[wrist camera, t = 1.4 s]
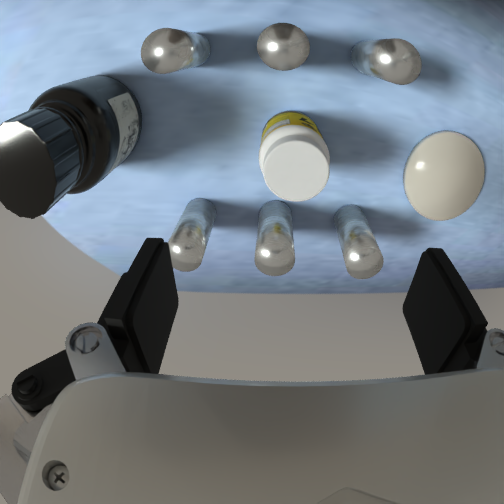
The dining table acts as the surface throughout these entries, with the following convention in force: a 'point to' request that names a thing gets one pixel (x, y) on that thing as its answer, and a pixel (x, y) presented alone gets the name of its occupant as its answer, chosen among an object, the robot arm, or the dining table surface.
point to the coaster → (443, 175)
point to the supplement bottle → (293, 157)
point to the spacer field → (276, 212)
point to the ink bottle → (66, 143)
